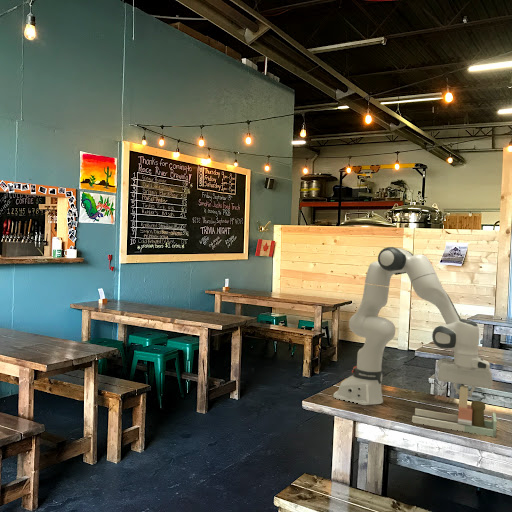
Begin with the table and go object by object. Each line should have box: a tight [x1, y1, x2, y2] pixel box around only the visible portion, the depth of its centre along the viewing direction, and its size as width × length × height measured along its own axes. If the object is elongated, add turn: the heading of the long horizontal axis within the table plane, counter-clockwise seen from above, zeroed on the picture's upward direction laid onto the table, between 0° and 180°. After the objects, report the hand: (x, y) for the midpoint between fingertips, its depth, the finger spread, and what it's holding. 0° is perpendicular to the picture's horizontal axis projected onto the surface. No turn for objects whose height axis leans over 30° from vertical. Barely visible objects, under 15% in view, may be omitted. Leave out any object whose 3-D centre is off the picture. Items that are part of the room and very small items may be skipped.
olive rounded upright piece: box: [470, 400, 486, 428], centre depth 197 cm, size 6×6×11 cm
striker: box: [457, 384, 472, 426], centre depth 199 cm, size 5×13×16 cm, turn 157°
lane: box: [411, 407, 498, 438], centre depth 201 cm, size 30×12×6 cm, turn 67°
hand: (463, 395), depth 200 cm, fingers closed on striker, 3 cm apart
